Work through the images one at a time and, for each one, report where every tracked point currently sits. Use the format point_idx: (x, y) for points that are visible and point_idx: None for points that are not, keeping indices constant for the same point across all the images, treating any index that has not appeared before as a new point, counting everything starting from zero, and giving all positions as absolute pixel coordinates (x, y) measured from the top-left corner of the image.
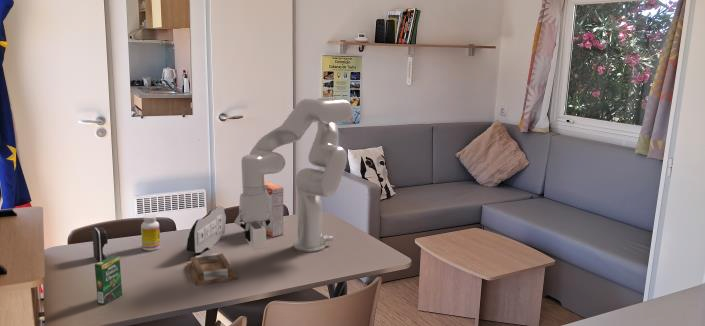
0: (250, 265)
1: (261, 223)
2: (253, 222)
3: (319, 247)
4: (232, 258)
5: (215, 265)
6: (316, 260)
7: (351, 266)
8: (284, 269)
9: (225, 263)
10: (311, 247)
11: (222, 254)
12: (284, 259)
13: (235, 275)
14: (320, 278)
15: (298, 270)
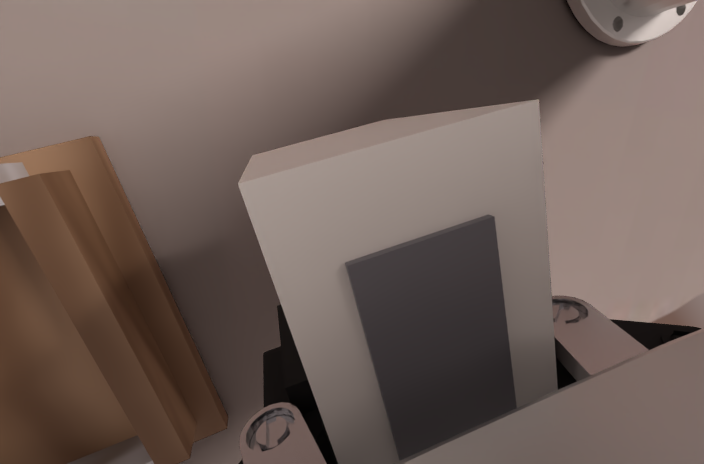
0: None
1: (562, 361)
2: (447, 371)
3: (675, 17)
4: (143, 86)
5: (35, 280)
6: (605, 173)
7: (693, 249)
8: None
9: (121, 384)
10: (642, 15)
11: (43, 199)
12: None
13: (215, 417)
14: None
15: None
